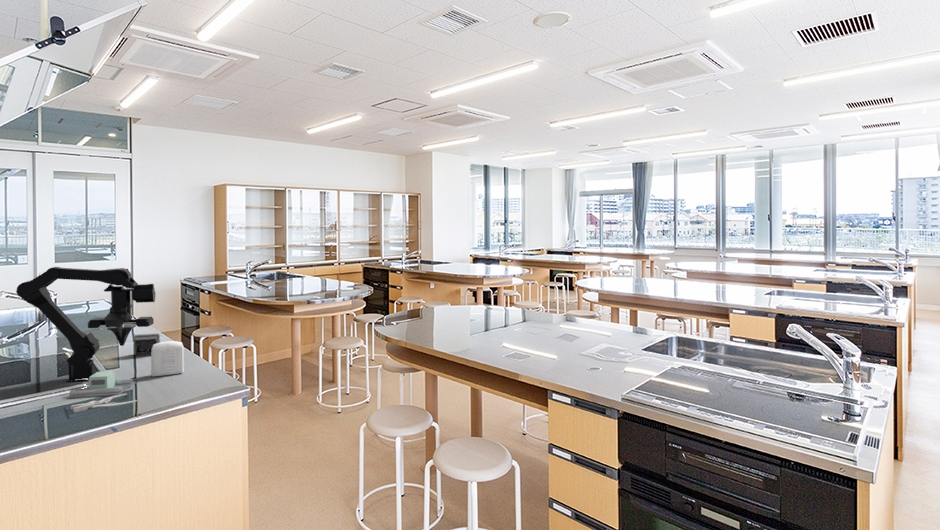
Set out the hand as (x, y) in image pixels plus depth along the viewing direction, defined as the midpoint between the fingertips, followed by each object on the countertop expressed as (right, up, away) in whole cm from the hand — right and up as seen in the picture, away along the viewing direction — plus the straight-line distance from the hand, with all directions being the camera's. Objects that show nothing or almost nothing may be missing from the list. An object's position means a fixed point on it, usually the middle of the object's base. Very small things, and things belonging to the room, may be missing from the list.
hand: (122, 345), depth 175 cm
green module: (+5, -12, -15) cm, 20 cm away
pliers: (+14, -14, -27) cm, 34 cm away
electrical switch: (-10, -9, +28) cm, 31 cm away
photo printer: (+15, -11, +3) cm, 19 cm away
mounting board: (+5, -12, -15) cm, 20 cm away
